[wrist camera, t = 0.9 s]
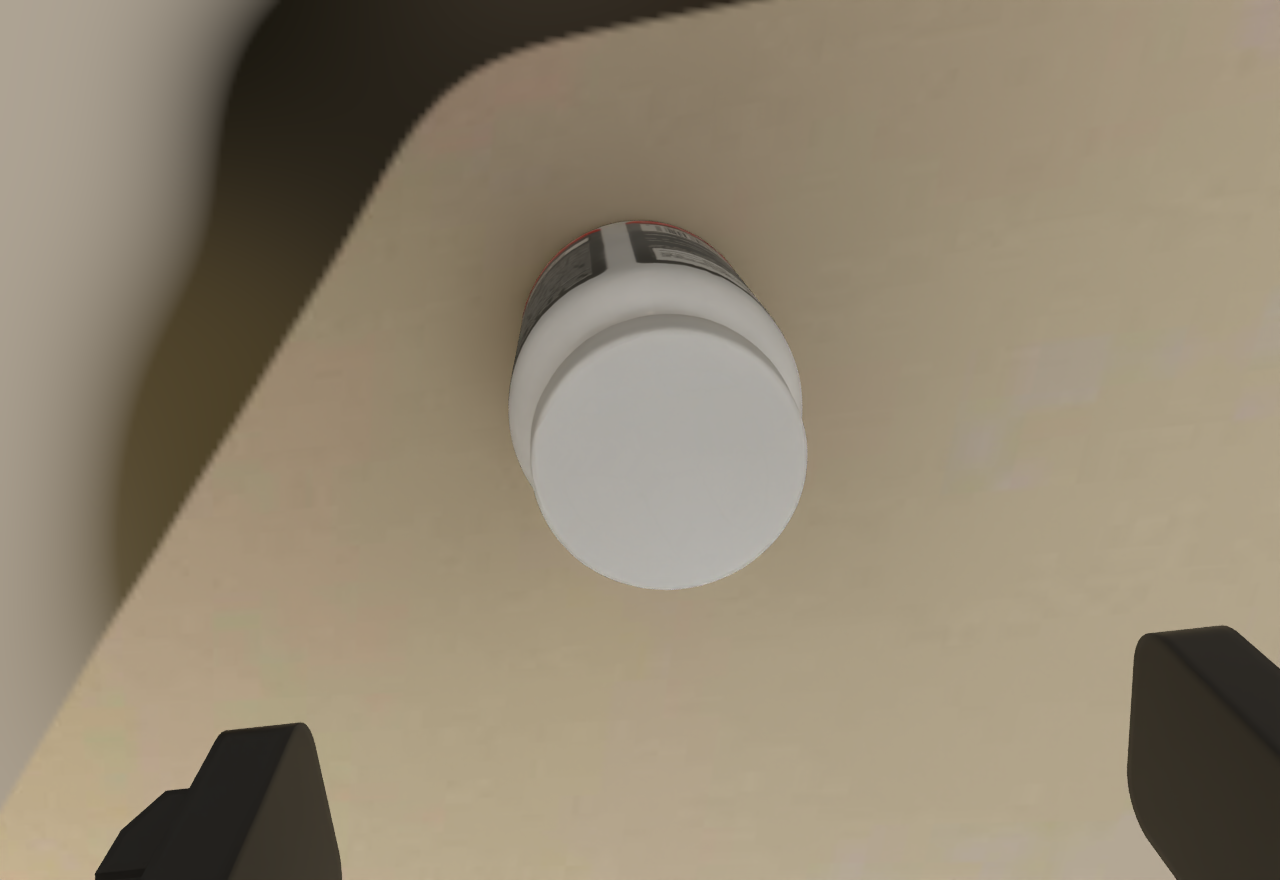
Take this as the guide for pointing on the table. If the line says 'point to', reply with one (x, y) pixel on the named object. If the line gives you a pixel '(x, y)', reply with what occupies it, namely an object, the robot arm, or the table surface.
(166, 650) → the table surface
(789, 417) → the pill bottle
